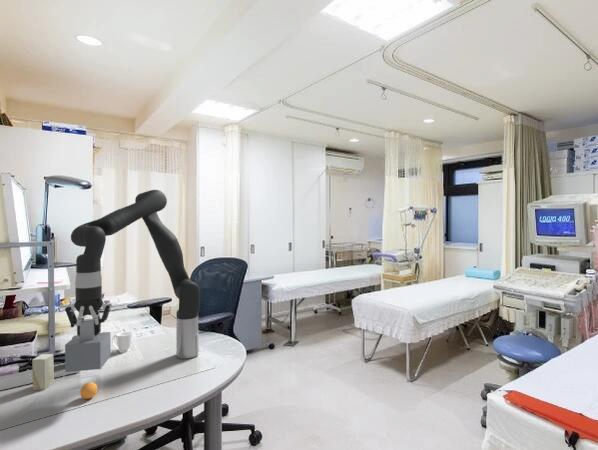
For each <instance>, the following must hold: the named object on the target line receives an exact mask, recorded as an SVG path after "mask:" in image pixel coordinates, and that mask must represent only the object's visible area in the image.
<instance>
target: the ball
mask: <svg viewBox="0 0 598 450" xmlns="http://www.w3.org/2000/svg"><path fill="white" fill-rule="evenodd" d="M97 392H98V386H97V384H96V383H94V382H87V383H85V384H83V386H81V388H80V391H79V394H80V395H79V396H80V397H82V398H83V399H84V400H89V399H92V398H93V397H95V396H96V394H97Z"/></svg>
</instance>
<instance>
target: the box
mask: <svg viewBox="0 0 598 450" xmlns="http://www.w3.org/2000/svg"><path fill="white" fill-rule="evenodd" d="M31 360H32V362H31V363H32V365H31V366H32V390H33V391H42V390H44V391H45V390H47V389H48V388H49V387H51V386H52V385H53V384H55V375H54V374H55V372H54V371H55V368H54V363H55V362H54V353H41V354H40V355H38V356H36V357H34V358H33V359H31Z"/></svg>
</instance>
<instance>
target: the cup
mask: <svg viewBox="0 0 598 450" xmlns="http://www.w3.org/2000/svg"><path fill="white" fill-rule="evenodd" d="M133 334H134V332H133V331H131V330H126V331H120V332H118V333H116V334H114V335H113V336H112V342H111V343H112V346H113V347H114V348H115V349H116V351H117V350H118V351H119V353H121V354H123V353H124V352H125V353H128V352H130V350H131V349H130V348H131V345H132V343H133V342H132V341H133ZM115 338H116V344H117V345H116V344H115Z"/></svg>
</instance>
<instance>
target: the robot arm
mask: <svg viewBox="0 0 598 450" xmlns="http://www.w3.org/2000/svg"><path fill="white" fill-rule="evenodd" d="M134 200H135V201H134V203H131V204H129V205H127V206H124V207H121V208H118V209H115V210H114V211H112V212H109V213H108V214H106V215H104V216H102V217H100V218H98V219H95V220H92V221H89V222H86V223H83V224H81V225H78V226H77V227H75V228H74V229H73V231H72V232H71V234H70V240H71V242H72V243H73V245H75V246H78V247H84V252H83V253H81V254H80V255H79V254H78V256H77V257H76V260H75V261H76V262H75V263H76V264H75V281H74V282H75V283H74V287H75V297H74V298H75V302H74V304H72V305H68V306H66V307H65V308H64V311H65V313H66V316H67V318H68V321H69V324H70V325H75V326H76V332H77V333H76V335H79V337H80V322H81V321H83V320H84V319H86V316H91V319H94V322H95V325H94V334H95V336H96V335H98V334H99V333H101V329H102V326H101V325H102V323H105V322H106V321H107V319H108V317H109V314H110V311H111V308H112V306H113V305H112V304H111V303H105V302H104V301H103V297H102V296H103V293H102V289H103V285H102V284H103V283H102V279H103V278H102V273H101V271H102V270H101V267H102V266H101V264H102V263H101V262H102V261H101V259H102V255H103V254H104V249H105V245H106V240H107V238H106V236H107V237H108V236H112V235H115V234H116V233H118V232H120V231H122V230H123V229H126V228H127V227H128V226H129V225H131V224H133V223H135V222H136V221H138V220H140V219H142V220H143V223H144V224H145V226H146V228H147V230H148V232H149V234H150V236H151V238H152V240H153V243H154V245H155V248H156V250H157V253H158V256H159V257H160V260H161V262H162V264H163V266H164V268H165V270H166V271H167V273H168V276H169V280H170V282H171V284H172V289H173V292H174V295H175V296H176V298H177V299H178V310H177V311H176V313H175V314H176V318H175V319H176V321H175V322H176V323H175V324H176V337H175V338H176V350H175V351H176V358H177V359H181V360H183V359H185V360H187V359H191V358H195V357H198V356H199V350H200V347H199V343H200V341H199V340H200V339H199V338H200V337H199V334H200V333H199V312H200V307H201V290H200V286H199V284H197V283H196V282H194V281H192V280H191V278H190V276H189V275H188V272H187V271H186V267H185V264H184V254H183V251H182V247H181V246H180V242H179V240H178V239H177V238H178V237H176V235H175V234H174V233H173V232H172V230H170V228H168V227H166V226H165V224H164V223H163V222H162V220H161V219H160V217H159V215H158V212H160V211H162V210H164V209H165V208H166V206H167V203H168V199H167V196H166V194H165V193H164V192H163V191H162V190H159V189H151V190H147V191H143V192H141V193H138V194H137V195H136V197H135V199H134ZM101 308H102V311H103V313H102V315H101V314H100V310H101ZM75 310H76V311H77V312H78V315H77V314H76V313H75ZM76 315H77V316H76Z"/></svg>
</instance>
